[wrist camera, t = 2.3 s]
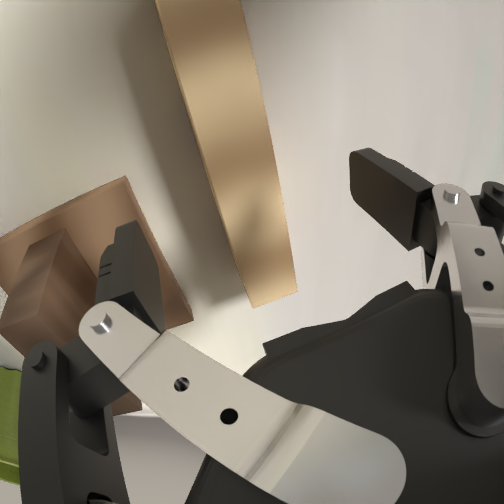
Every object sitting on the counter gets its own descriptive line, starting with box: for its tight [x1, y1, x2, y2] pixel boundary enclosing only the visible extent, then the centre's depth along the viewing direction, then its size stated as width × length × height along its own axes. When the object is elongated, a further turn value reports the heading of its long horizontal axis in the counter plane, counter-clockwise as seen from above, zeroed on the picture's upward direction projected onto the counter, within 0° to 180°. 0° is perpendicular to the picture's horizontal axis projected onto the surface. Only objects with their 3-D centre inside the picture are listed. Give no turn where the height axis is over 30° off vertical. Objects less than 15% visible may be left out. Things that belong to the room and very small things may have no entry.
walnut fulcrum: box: [0, 176, 194, 416], centre depth 16 cm, size 12×12×8 cm
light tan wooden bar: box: [154, 0, 298, 308], centre depth 15 cm, size 20×3×4 cm, turn 13°
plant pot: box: [0, 367, 22, 485], centre depth 19 cm, size 12×12×11 cm
